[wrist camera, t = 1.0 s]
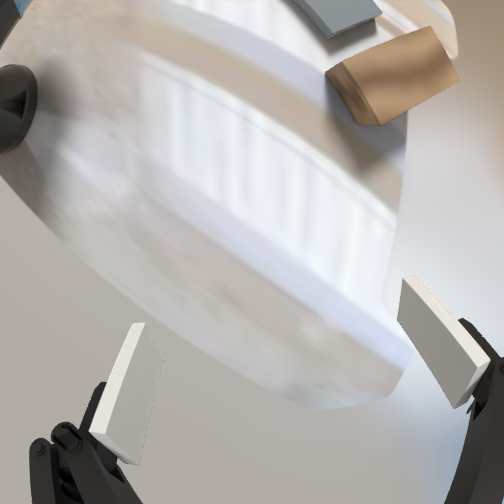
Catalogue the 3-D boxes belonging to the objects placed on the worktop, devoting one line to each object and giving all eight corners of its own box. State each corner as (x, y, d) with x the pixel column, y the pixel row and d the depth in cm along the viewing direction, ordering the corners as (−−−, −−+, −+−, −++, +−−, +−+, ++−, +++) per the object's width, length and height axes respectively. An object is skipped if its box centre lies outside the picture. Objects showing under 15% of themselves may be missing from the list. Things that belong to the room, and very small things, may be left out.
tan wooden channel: (324, 72, 29) (342, 61, 23) (405, 36, 26) (430, 25, 20) (358, 125, 32) (381, 125, 26) (432, 84, 29) (460, 81, 23)
